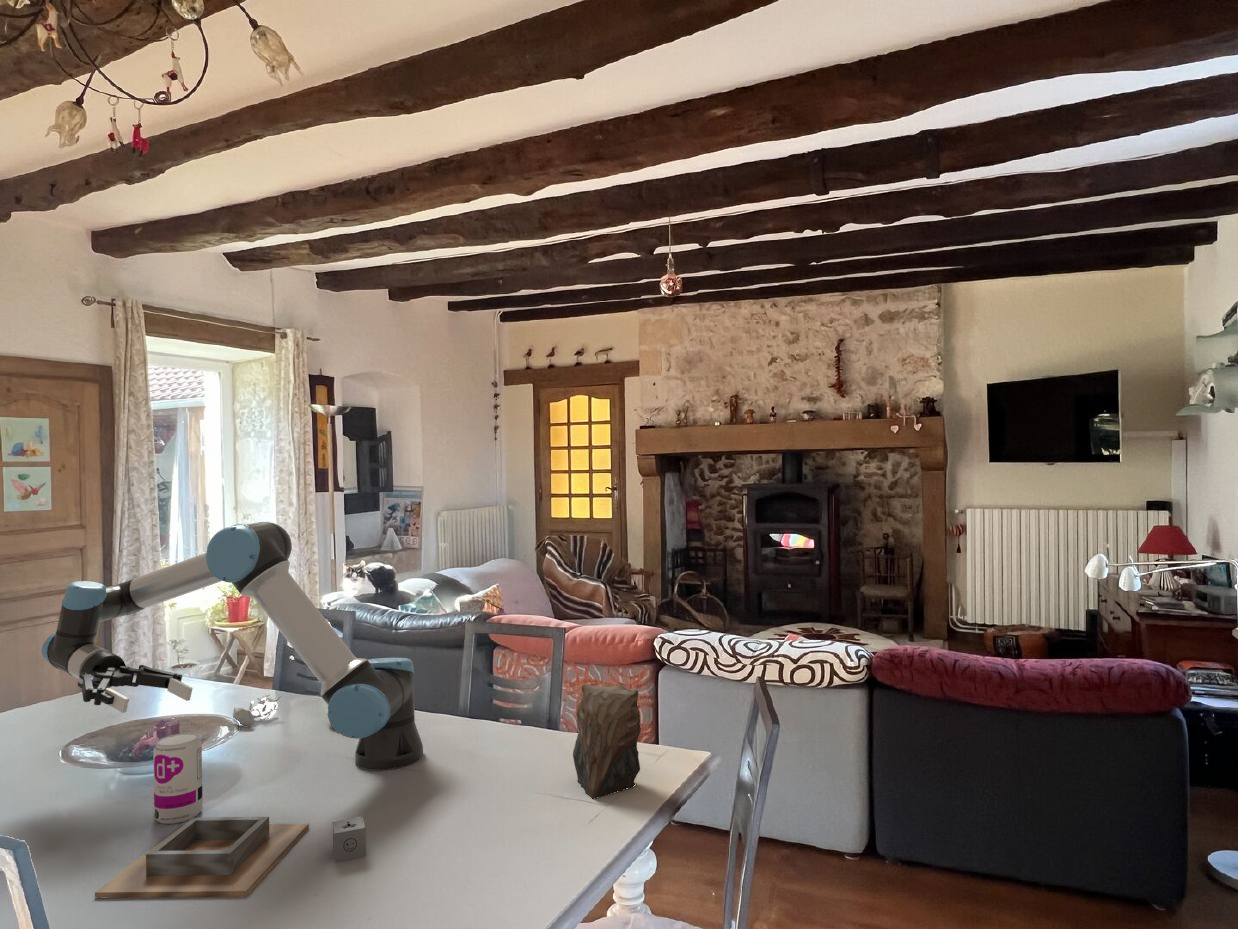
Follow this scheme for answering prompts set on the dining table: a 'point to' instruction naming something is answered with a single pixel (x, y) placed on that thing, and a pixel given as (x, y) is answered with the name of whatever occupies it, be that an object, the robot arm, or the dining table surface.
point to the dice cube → (349, 839)
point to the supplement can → (177, 778)
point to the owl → (607, 739)
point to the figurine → (256, 711)
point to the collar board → (207, 859)
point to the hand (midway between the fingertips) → (159, 699)
